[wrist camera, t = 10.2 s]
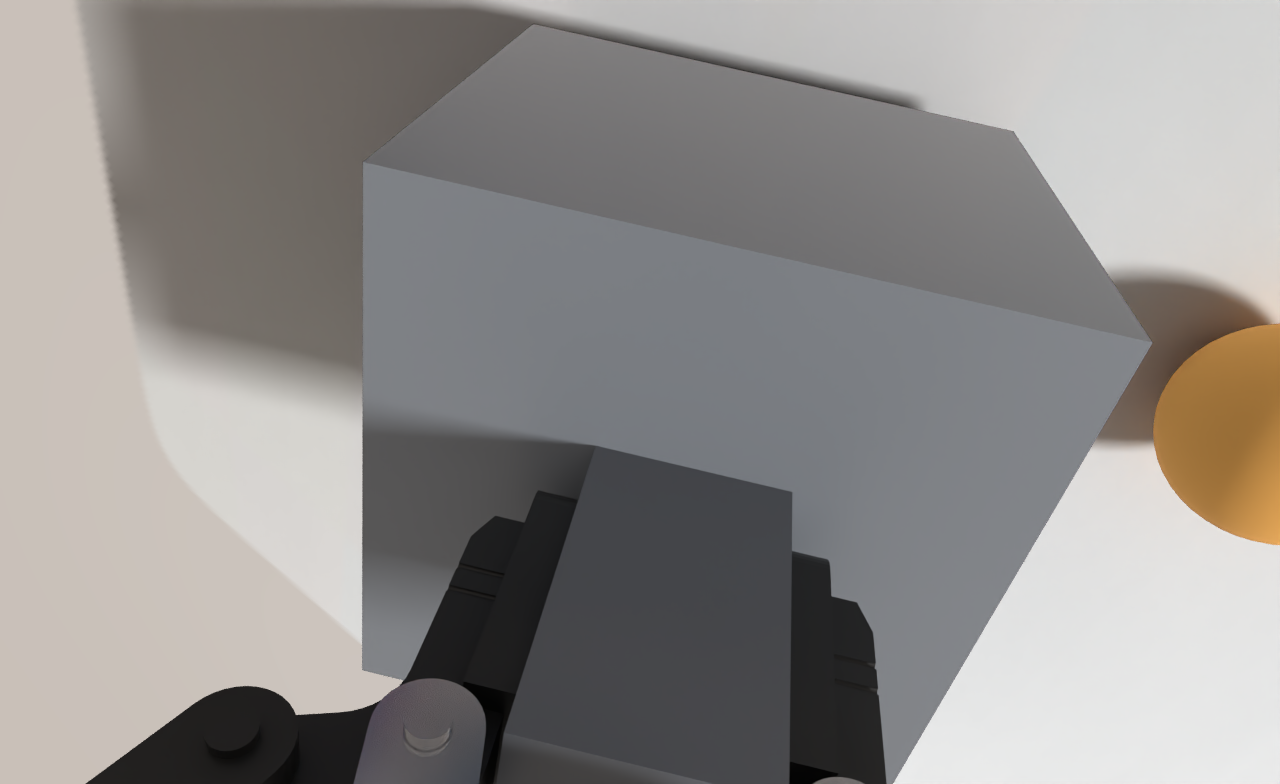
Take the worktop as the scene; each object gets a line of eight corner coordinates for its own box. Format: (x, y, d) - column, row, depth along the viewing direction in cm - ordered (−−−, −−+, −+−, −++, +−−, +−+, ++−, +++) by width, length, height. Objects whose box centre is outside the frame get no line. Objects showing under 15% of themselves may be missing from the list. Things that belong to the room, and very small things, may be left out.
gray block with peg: (533, 23, 19) (113, 363, 7) (1013, 131, 18) (1360, 658, 7) (493, 412, 24) (222, 945, 13) (859, 499, 24) (912, 1119, 13)
